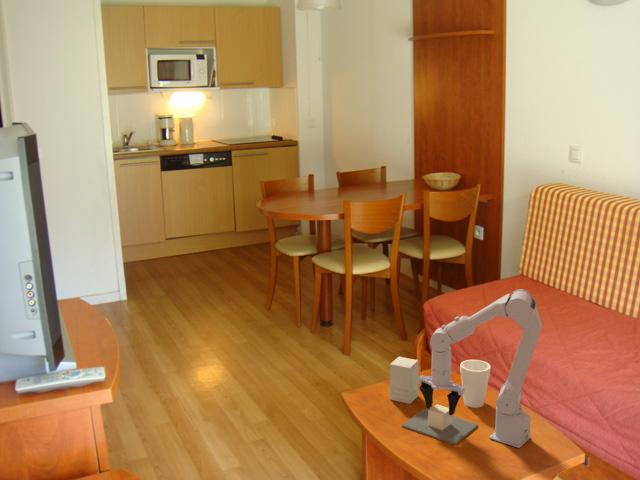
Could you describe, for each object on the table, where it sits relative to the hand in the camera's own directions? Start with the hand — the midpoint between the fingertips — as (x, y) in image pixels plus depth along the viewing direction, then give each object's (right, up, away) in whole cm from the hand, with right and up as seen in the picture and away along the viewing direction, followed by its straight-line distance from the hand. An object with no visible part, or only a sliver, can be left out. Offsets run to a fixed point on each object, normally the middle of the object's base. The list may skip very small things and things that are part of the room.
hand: (440, 410), depth 220 cm
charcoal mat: (0, -5, +1) cm, 5 cm away
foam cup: (+13, -2, +16) cm, 21 cm away
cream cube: (0, -5, +1) cm, 5 cm away
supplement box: (-9, -1, +21) cm, 22 cm away
